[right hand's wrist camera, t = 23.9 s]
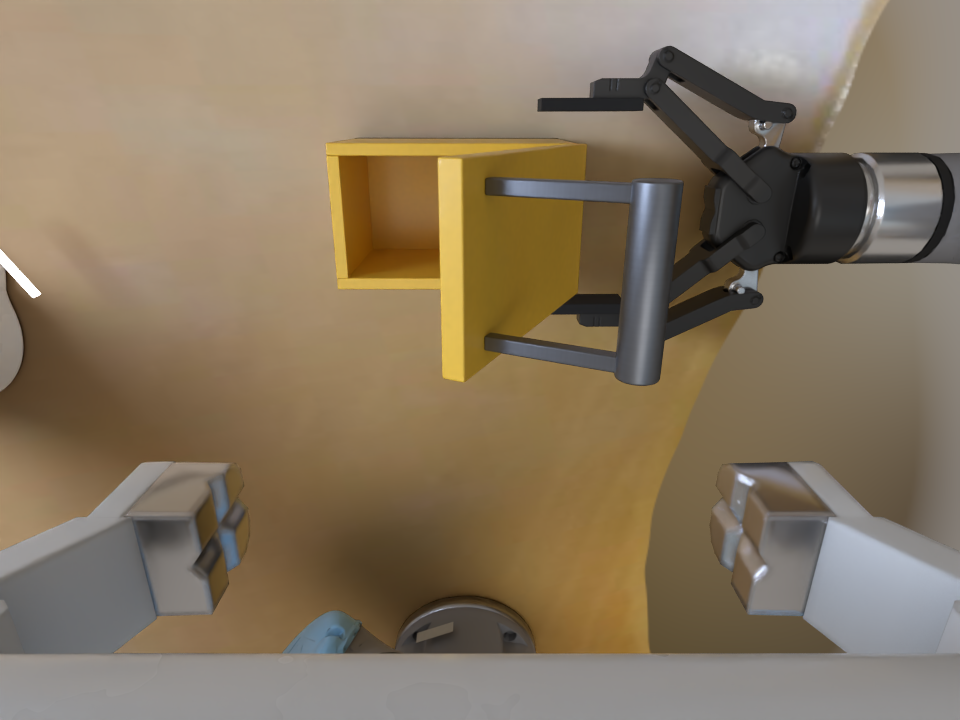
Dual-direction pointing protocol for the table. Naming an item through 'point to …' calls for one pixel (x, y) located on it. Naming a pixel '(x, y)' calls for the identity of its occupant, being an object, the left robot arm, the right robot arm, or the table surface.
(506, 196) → the lid
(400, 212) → the chest
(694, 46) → the table surface
